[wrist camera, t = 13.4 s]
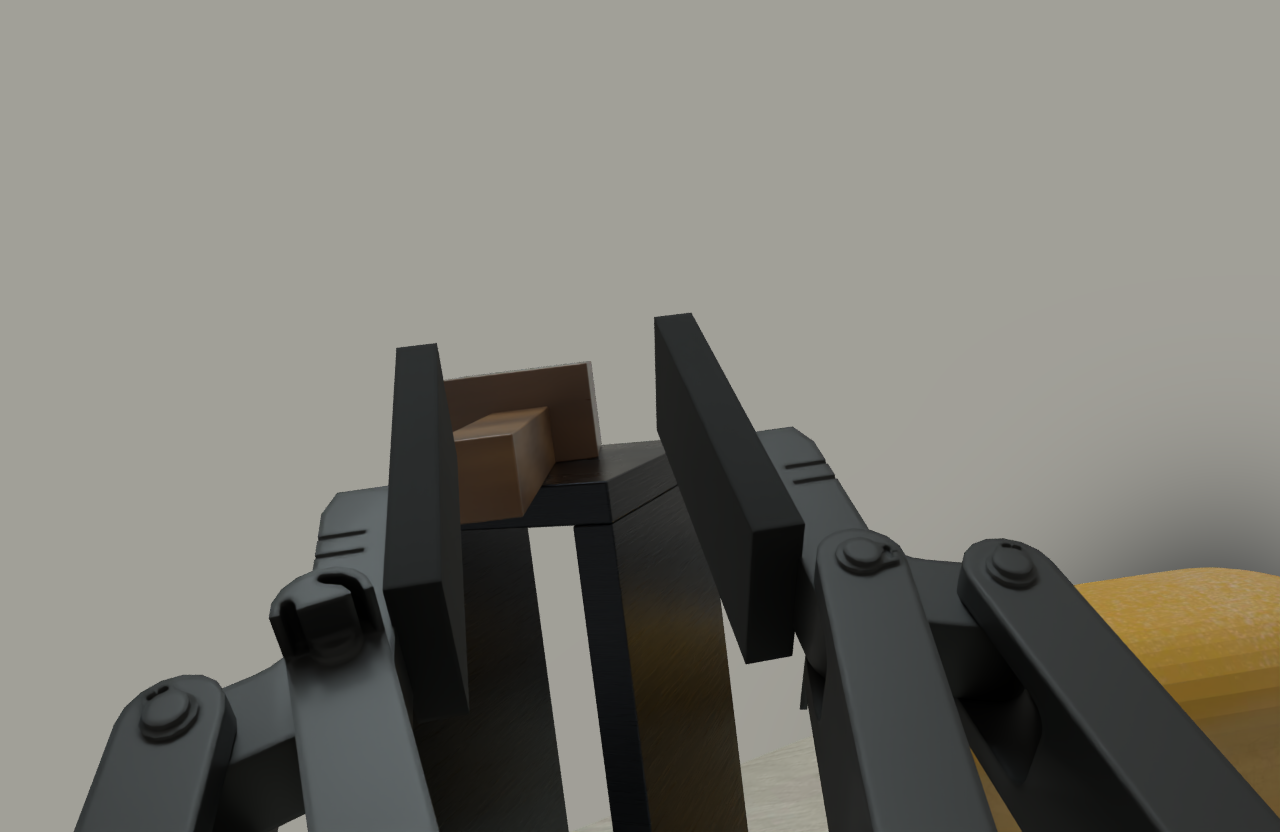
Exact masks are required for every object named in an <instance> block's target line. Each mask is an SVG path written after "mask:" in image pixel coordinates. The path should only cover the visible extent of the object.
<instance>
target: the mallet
mask: <svg viewBox="0 0 1280 832" xmlns="http://www.w3.org/2000/svg"><path fill="white" fill-rule="evenodd" d="M444 386H445V392H446V397H447V403H448V408H449V414H450V420H451V425H452V431H453V436H454V442H455V447H456V453H457V462H458V483H459V504H460V524H461V525H462V524H470V523H478V522H486V521H494V520H502V519H510V518H518V517H522V516H523V515H524V514H525V512H526V511H527V509H528V507H529V506H530V504H531V502H532V501H533V499H534V497H535V496H536V494H537V492H538V491H539V489H540V487H541V486H542V484H543V482H544V481H545V479H546V478H547V476H548V474H549V473H550V471H551V469H552V468H553V466H554V464H555V463H560V462H568V461H576V460H584V459H592V458H598V457H599V453H600V449H601V444H602V443H601V436H600V427H599V419H598V412H597V404H596V396H595V388H594V381H593V373H592V364H591V361H587V362H579V363H571V364H563V365H555V366H546V367H538V368H530V369H522V370H514V371H506V372H498V373H490V374H483V375H474V376H466V377H460V378H454V379H448V380H444Z"/></svg>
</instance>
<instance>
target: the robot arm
mask: <svg viewBox="0 0 1280 832" xmlns="http://www.w3.org/2000/svg"><path fill="white" fill-rule="evenodd" d="M654 326H655V327H654V329H655V373H656V412H657V413H656V415H657V416H656V417H657V432H658V434H659V437H660V440H661V442H662V445H663V447H664V450H665V453H666V455H667V458H668V461H669V463H670V466H671V469H672V471H673V474H674V476H675V479H676V482H677V484H678V487H679V490H680V492H681V495H682V498H683V500H684V503H685V505H686V508H687V511H688V513H689V516H690V519H691V521H692V524H693V527H694V529H695V532H696V534H697V537H698V540H699V542H700V545H701V548H702V550H703V553H704V556H705V558H706V561H707V563H708V566H709V569H710V571H711V574H712V577H713V579H714V582H715V584H716V587H717V590H718V592H719V595H720V598H721V600H722V603H723V606H724V608H725V611H726V613H727V616H728V619H729V621H730V624H731V627H732V629H733V632H734V634H735V637H736V640H737V642H738V645H739V648H740V650H741V653H742V656H743V658H744V661H745V664H750V663H756V662H762V661H767V660H773V659H778V658H784V657H789V656H792V654H793V643H794V634H795V633H796V635H797V637H798V639H799V642H800V644H801V646H802V648H803V650H804V653H805V655H806V656H805V665H804V674H803V682H802V692H801V702H800V709H801V710H803V709H804V710H805V709H807V706H808V708H809V714H810V720H811V726H812V732H813V738H814V744H815V750H816V756H817V762H818V768H819V774H820V781H821V787H822V793H823V799H824V805H825V811H826V817H827V823H828V829H829V832H998V831H997V828H996V825H995V822H994V819H993V816H992V813H991V810H990V807H989V804H988V801H987V798H986V795H985V792H984V789H983V786H982V783H981V780H980V777H979V774H978V771H977V768H976V765H975V762H974V759H973V756H972V753H971V750H972V751H973V753H974V755H975V756H976V758H977V759H978V761H979V763H980V764H981V766H982V768H983V769H984V771H985V772H986V774H987V776H988V777H989V779H990V780H991V782H992V784H993V785H994V787H995V789H996V790H997V792H998V793H999V795H1000V797H1001V798H1002V800H1003V802H1004V803H1005V805H1006V806H1007V808H1008V810H1009V811H1010V813H1011V815H1012V816H1013V818H1014V819H1015V821H1016V823H1017V824H1018V826H1019V827H1020V829H1021V831H1022V832H1280V818H1279V817H1278V816H1277V815H1276V814H1275V813H1274V811H1273V810H1272V809H1271V808H1270V807H1269V806H1268V805H1267V804H1266V802H1265V801H1264V800H1263V799H1262V798H1261V797H1260V796H1259V794H1258V793H1257V792H1256V791H1255V790H1254V789H1253V788H1252V787H1251V785H1250V784H1249V783H1248V782H1247V781H1246V780H1245V779H1244V778H1243V776H1242V775H1241V774H1240V773H1239V772H1238V771H1237V770H1236V768H1235V767H1234V766H1233V765H1232V764H1231V763H1230V762H1229V761H1228V759H1227V758H1226V757H1225V756H1224V755H1223V754H1222V753H1221V752H1220V750H1219V749H1218V748H1217V747H1216V746H1215V745H1214V744H1213V742H1212V741H1211V740H1210V739H1209V738H1208V737H1207V736H1206V735H1205V733H1204V732H1203V731H1202V730H1201V729H1200V728H1199V727H1198V726H1197V724H1196V723H1195V722H1194V721H1193V720H1192V719H1191V718H1190V716H1189V715H1188V714H1187V713H1186V712H1185V711H1184V710H1183V709H1182V707H1181V706H1180V705H1179V704H1178V703H1177V702H1176V701H1175V700H1174V698H1173V697H1172V696H1171V695H1170V694H1169V693H1168V692H1167V690H1166V689H1165V688H1164V687H1163V686H1162V685H1161V684H1160V683H1159V681H1158V680H1157V679H1156V678H1155V677H1154V676H1153V675H1152V674H1151V672H1150V671H1149V670H1148V669H1147V668H1146V667H1145V666H1144V665H1143V663H1142V662H1141V661H1140V660H1139V659H1138V658H1137V657H1136V655H1135V654H1134V653H1133V652H1132V651H1131V650H1130V649H1129V648H1128V646H1127V645H1126V644H1125V643H1124V642H1123V641H1122V640H1121V639H1120V637H1119V636H1118V635H1117V634H1116V633H1115V632H1114V631H1113V629H1112V628H1111V627H1110V626H1109V625H1108V624H1107V623H1106V622H1105V620H1104V619H1103V618H1102V617H1101V616H1100V615H1099V614H1098V613H1097V611H1096V610H1095V609H1094V608H1093V607H1092V606H1091V605H1090V603H1089V602H1088V601H1087V600H1086V599H1085V598H1084V597H1083V596H1082V594H1081V593H1080V592H1079V591H1078V590H1077V589H1076V588H1075V587H1074V585H1073V584H1072V583H1071V582H1070V581H1069V580H1068V579H1067V577H1066V576H1065V575H1064V574H1063V573H1062V572H1061V571H1060V570H1059V568H1057V566H1056V565H1055V564H1054V563H1053V562H1052V561H1051V560H1050V559H1049V558H1048V557H1046V556H1045V555H1044V554H1043V553H1042V552H1040V551H1039V550H1037V549H1035V548H1033V547H1031V546H1029V545H1026V544H1024V543H1022V542H1018V541H1013V540H1008V539H1004V538H1002V539H985V540H982V541H980V542H977V543H975V544H972V545H971V546H970V547H969V549H968V550H967V551H966V552H965V553H964V557H963V561H962V563H960V562H948V561H935V560H925V559H919V558H912V557H909V556H906V555H905V554H904V552H903V551H902V549H901V548H900V546H899V545H898V544H897V543H895V542H894V541H893V540H891V539H890V538H889V537H887V536H885V535H882V534H880V533H877V532H874V531H872V530H869V529H868V527H867V525H866V524H865V522H864V521H863V519H862V517H861V516H860V514H859V513H858V511H857V510H856V508H855V506H854V505H853V503H852V502H851V500H850V499H849V497H848V495H847V494H846V492H845V490H844V489H843V487H842V486H841V484H840V482H839V481H838V479H835V475H834V473H833V471H832V470H831V468H830V466H829V465H828V464H826V462H825V458H824V457H823V455H822V454H821V452H820V450H819V449H818V447H817V446H816V444H815V443H814V441H812V440H811V439H809V438H808V437H807V436H805V435H804V434H802V433H801V432H800V431H798V430H797V429H795V428H794V427H786V428H779V429H772V430H765V431H758V432H756V431H755V430H754V428H753V426H752V424H751V422H750V420H749V419H748V417H747V415H746V413H745V411H744V409H743V408H742V406H741V404H740V402H739V400H738V398H737V396H736V394H735V393H734V391H733V389H732V387H731V385H730V384H729V382H728V380H727V378H726V376H725V374H724V372H723V370H722V369H721V367H720V365H719V363H718V361H717V359H716V358H715V356H714V354H713V352H712V350H711V348H710V346H709V345H708V343H707V341H706V339H705V337H704V335H703V333H702V332H701V330H700V328H699V326H698V324H697V322H696V321H695V319H694V317H693V316H692V313H686V314H676V315H669V316H660V317H654ZM391 435H392V436H391V450H390V452H391V453H390V468H389V485H388V486H383V487H376V488H369V489H362V490H354V491H348V492H340V493H337V494H336V495H335V497H334V498H333V500H332V501H331V502H330V504H329V505H328V506H327V508H326V509H325V510H324V512H323V513H322V514H321V520H320V527H319V534H318V541H317V546H316V553H315V557H316V560H314V566H313V571H312V572H309V573H307V574H304V575H303V576H300V577H298V578H296V579H295V580H293V581H292V582H291V583H289V584H288V585H287V586H285V587H284V588H283V589H282V590H281V591H280V592H279V594H278V595H277V596H276V598H275V599H274V601H273V602H272V604H271V609H270V614H269V620H270V622H271V625H272V628H273V630H274V633H275V636H276V639H277V641H278V643H279V646H280V649H281V652H282V655H283V658H282V659H281V660H279V661H278V662H276V663H275V664H274V665H272V666H271V667H269V668H267V669H265V670H263V671H261V672H260V673H258V674H256V675H253V676H251V677H249V678H246V679H244V680H241V681H239V682H237V683H234V684H232V685H230V686H227V687H225V688H221V686H220V685H219V683H218V682H217V681H215V680H213V679H211V678H208V677H206V676H204V675H181V676H177V677H174V678H170V679H167V680H163V681H161V682H159V683H157V684H155V685H154V686H152V687H150V688H148V689H146V690H145V691H143V692H141V693H140V694H139V695H138V696H137V697H136V698H135V699H133V700H132V701H131V702H130V703H129V704H128V705H127V706H126V707H125V708H124V709H123V711H122V713H121V714H120V716H119V718H118V719H117V721H116V722H115V724H114V726H113V729H112V732H111V734H110V737H109V739H108V742H107V745H106V747H105V750H104V753H103V756H102V758H101V761H100V764H99V767H98V769H97V771H96V774H95V777H94V779H93V782H92V785H91V787H90V790H89V793H88V796H87V798H86V801H85V803H84V806H83V809H82V811H81V814H80V817H79V820H78V822H77V825H76V827H75V830H74V832H278V827H279V826H281V825H283V824H285V823H287V822H289V821H291V820H293V819H296V818H298V817H300V816H302V815H304V814H306V820H307V828H308V832H440V830H439V827H438V823H437V819H436V815H435V812H434V808H433V804H432V800H431V797H430V793H429V789H428V785H427V782H426V778H425V774H424V770H423V767H422V763H421V759H420V755H419V752H418V748H417V744H416V740H415V737H414V733H413V708H414V711H415V715H416V719H417V723H424V722H429V721H435V720H440V719H446V718H452V717H457V716H463V715H468V714H470V713H469V692H468V671H467V650H466V629H465V608H464V587H463V566H462V545H461V524H460V504H459V483H458V462H457V453H456V447H455V442H454V436H453V431H452V425H451V420H450V414H449V408H448V403H447V397H446V392H445V386H444V381H443V375H442V369H441V364H440V358H439V353H438V348H437V343H435V344H426V345H417V346H408V347H401V348H396V366H395V382H394V400H393V416H392V434H391ZM969 746H970V747H969ZM970 748H971V750H970Z"/></svg>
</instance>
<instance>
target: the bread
mask: <svg viewBox="0 0 1280 832" xmlns="http://www.w3.org/2000/svg"><path fill="white" fill-rule="evenodd" d="M1074 587H1075V588H1076V589H1077V590H1078V591H1079V592H1080V593H1081V594H1082V596H1083V597H1084V598H1085V599H1086V600H1087V601H1088V602H1089V603H1090V605H1091V606H1092V607H1093V608H1094V609H1095V610H1096V611H1097V613H1098V614H1099V615H1100V616H1101V617H1102V618H1103V619H1104V620H1105V622H1106V623H1107V624H1108V625H1109V626H1110V627H1111V628H1112V629H1113V631H1114V632H1115V633H1116V634H1117V635H1118V636H1119V637H1120V639H1121V640H1122V641H1123V642H1124V643H1125V644H1126V645H1127V646H1128V648H1129V649H1130V650H1131V651H1132V652H1133V653H1134V654H1135V655H1136V657H1137V658H1138V659H1139V660H1140V661H1141V662H1142V663H1143V665H1144V666H1145V667H1146V668H1147V669H1148V670H1149V671H1150V672H1151V674H1152V675H1153V676H1154V677H1155V678H1156V679H1157V680H1158V681H1159V683H1160V684H1161V685H1162V686H1163V687H1164V688H1165V689H1166V690H1167V692H1168V693H1169V694H1170V695H1171V696H1172V697H1173V698H1174V700H1175V701H1176V702H1177V703H1178V704H1179V705H1180V706H1181V707H1182V709H1183V710H1184V711H1185V712H1186V713H1187V714H1188V715H1189V716H1190V718H1191V719H1192V720H1193V721H1194V722H1195V723H1196V724H1197V726H1198V727H1199V728H1200V729H1201V730H1202V731H1203V732H1204V733H1205V735H1206V736H1207V737H1208V738H1209V739H1210V740H1211V741H1212V742H1213V744H1214V745H1215V746H1216V747H1217V748H1218V749H1219V750H1220V752H1221V753H1222V754H1223V755H1224V756H1225V757H1226V758H1227V759H1228V761H1229V762H1230V763H1231V764H1232V765H1233V766H1234V767H1235V768H1236V770H1237V771H1238V772H1239V773H1240V774H1241V775H1242V776H1243V778H1244V779H1245V780H1246V781H1247V782H1248V783H1249V784H1250V785H1251V787H1252V788H1253V789H1254V790H1255V791H1256V792H1257V793H1258V794H1259V796H1260V797H1261V798H1262V799H1263V800H1264V801H1265V802H1266V804H1267V805H1268V806H1269V807H1270V808H1271V809H1272V810H1273V811H1274V813H1275V814H1276V815H1277V816H1278V817H1279V818H1280V577H1279V576H1274V575H1269V574H1264V573H1260V572H1253V571H1246V570H1238V569H1227V568H1191V569H1181V570H1174V571H1166V572H1159V573H1152V574H1145V575H1138V576H1131V577H1124V578H1117V579H1111V580H1104V581H1098V582H1091V583H1084V584H1078V585H1074ZM969 747H970V746H969ZM970 750H971V748H970ZM971 753H972V756H973V759H974V762H975V765H976V768H977V771H978V774H979V777H980V780H981V783H982V786H983V789H984V792H985V795H986V798H987V801H988V804H989V807H990V810H991V813H992V816H993V819H994V822H995V825H996V828H997V831H998V832H1022V831H1021V829H1020V827H1019V826H1018V824H1017V823H1016V821H1015V819H1014V818H1013V816H1012V815H1011V813H1010V811H1009V810H1008V808H1007V806H1006V805H1005V803H1004V802H1003V800H1002V798H1001V797H1000V795H999V793H998V792H997V790H996V789H995V787H994V785H993V784H992V782H991V780H990V779H989V777H988V776H987V774H986V772H985V771H984V769H983V768H982V766H981V764H980V763H979V761H978V759H977V758H976V756H975V755H974V753H973V751H972V750H971Z"/></svg>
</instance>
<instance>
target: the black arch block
mask: <svg viewBox="0 0 1280 832" xmlns="http://www.w3.org/2000/svg"><path fill="white" fill-rule="evenodd" d="M553 526H574V536H575V543H576V551H577V559H578V566H579V574H580V582H581V589H582V596H583V604H584V612H585V619H586V627H587V635H588V642H589V650H590V658H591V665H592V673H593V681H594V688H595V696H596V704H597V711H598V718H599V726H600V734H601V742H602V749H603V757H604V765H605V772H606V780H607V788H608V795H609V803H610V810H611V818H612V826H613V832H748V827H747V818H746V810H745V802H744V793H743V785H742V776H741V768H740V760H739V751H738V743H737V736H736V735H737V734H736V726H735V718H734V710H733V701H732V693H731V685H730V676H729V667H728V659H727V650H726V643H725V634H724V626H723V617H722V608H721V600H720V595H719V592H718V590H717V587H716V584H715V582H714V579H713V577H712V574H711V571H710V569H709V566H708V563H707V561H706V558H705V556H704V553H703V550H702V548H701V545H700V542H699V540H698V537H697V534H696V532H695V529H694V527H693V524H692V521H691V519H690V516H689V513H688V511H687V508H686V505H685V503H684V500H683V498H682V495H681V492H680V490H679V487H678V484H677V482H676V479H675V476H674V474H673V471H672V469H671V466H670V463H669V461H668V458H667V455H666V453H665V450H664V447H663V445H662V442H661V440H658V441H646V442H633V443H621V444H609V445H601V449H600V453H599V457H598V458H592V459H584V460H576V461H568V462H560V463H555V464H554V466H553V468H552V469H551V471H550V473H549V474H548V476H547V478H546V479H545V481H544V482H543V484H542V486H541V487H540V489H539V491H538V492H537V494H536V496H535V497H534V499H533V501H532V502H531V504H530V506H529V507H528V509H527V511H526V512H525V514H524V515H523V516H522V517H518V518H510V519H502V520H494V521H486V522H478V523H470V524H462V525H461V545H462V566H463V587H464V608H465V629H466V650H467V671H468V692H469V713H470V714H468V715H463V716H457V717H452V718H446V719H440V720H435V721H429V722H424V723H417V719H416V715H415V711H414V708H413V733H414V737H415V740H416V744H417V748H418V752H419V755H420V759H421V763H422V767H423V770H424V774H425V778H426V782H427V785H428V789H429V793H430V797H431V800H432V804H433V808H434V812H435V815H436V819H437V823H438V827H439V830H440V832H569V831H568V824H567V815H566V809H565V801H564V793H563V786H562V778H561V771H560V764H559V756H558V749H557V741H556V734H555V727H554V720H553V712H552V704H551V697H550V690H549V682H548V675H547V667H546V660H545V652H544V646H543V638H542V630H541V623H540V615H539V608H538V601H537V593H536V586H535V578H534V572H533V564H532V556H531V550H530V541H529V535H528V528H531V527H553Z"/></svg>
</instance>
